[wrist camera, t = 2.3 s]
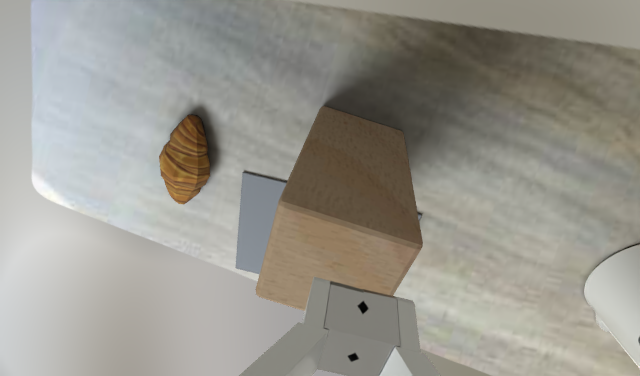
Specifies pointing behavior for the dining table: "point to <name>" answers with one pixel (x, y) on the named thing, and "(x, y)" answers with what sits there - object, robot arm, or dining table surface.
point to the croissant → (185, 160)
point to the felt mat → (257, 219)
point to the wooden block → (343, 213)
